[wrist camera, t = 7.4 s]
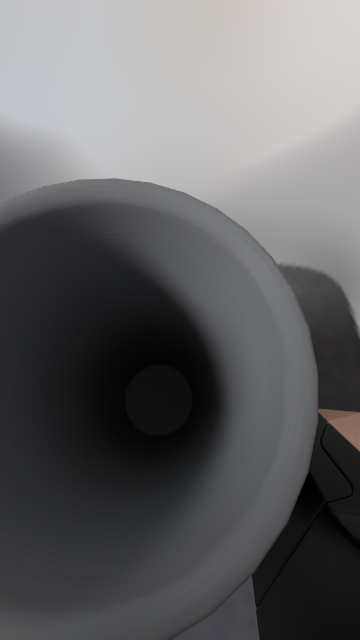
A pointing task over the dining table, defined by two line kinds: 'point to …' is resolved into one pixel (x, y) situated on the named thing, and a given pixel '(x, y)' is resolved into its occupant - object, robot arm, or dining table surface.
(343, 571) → the robot arm
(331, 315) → the dining table surface
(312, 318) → the dining table surface
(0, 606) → the cup
